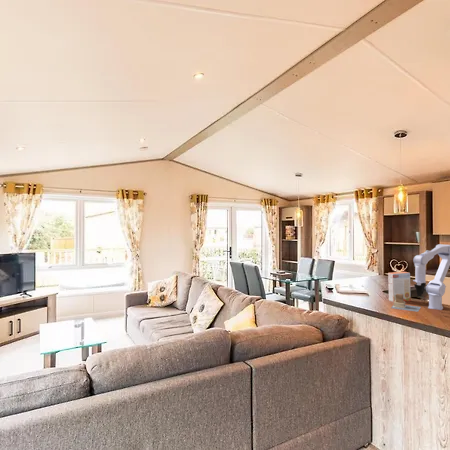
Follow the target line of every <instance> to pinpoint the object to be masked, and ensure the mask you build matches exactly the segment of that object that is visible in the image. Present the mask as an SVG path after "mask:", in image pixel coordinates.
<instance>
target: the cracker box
mask: <svg viewBox="0 0 450 450" xmlns="http://www.w3.org/2000/svg"><path fill="white" fill-rule="evenodd" d="M387 281H388V285H387V286H388V301H389V302H392V303H394V301H396V294H403V301H404V302H411V299H412V298H411V273H410V272H407V271H396V272H395V271H394V272H388V273H387Z"/></svg>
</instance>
